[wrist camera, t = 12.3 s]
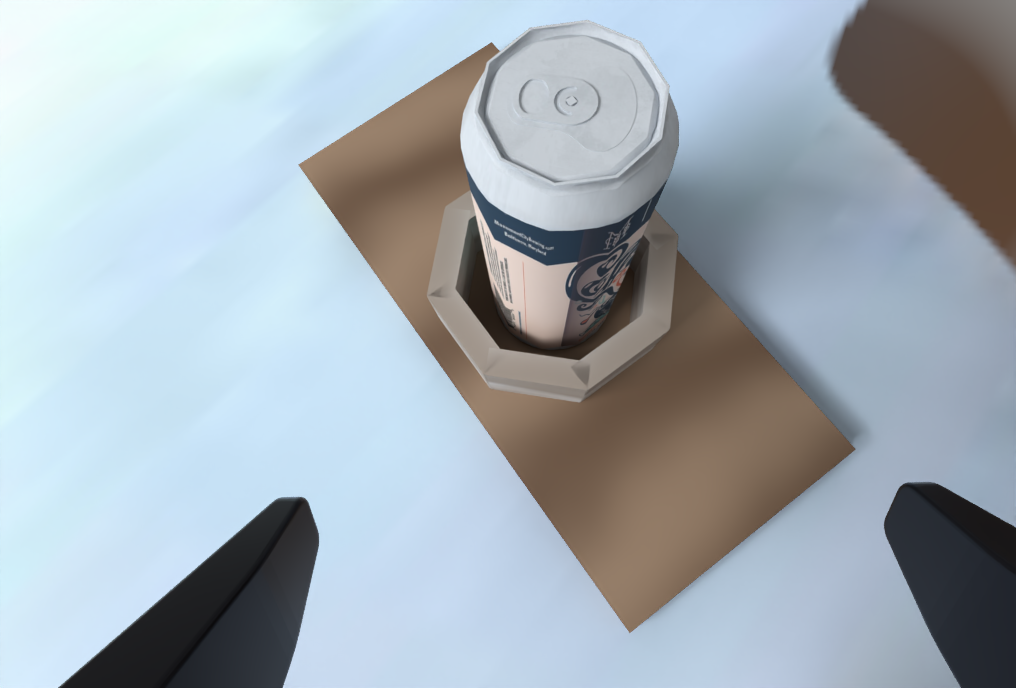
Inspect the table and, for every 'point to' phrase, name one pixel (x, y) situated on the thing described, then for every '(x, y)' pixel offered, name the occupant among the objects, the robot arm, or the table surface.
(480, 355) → the socket board
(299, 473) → the table surface
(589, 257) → the beer can
